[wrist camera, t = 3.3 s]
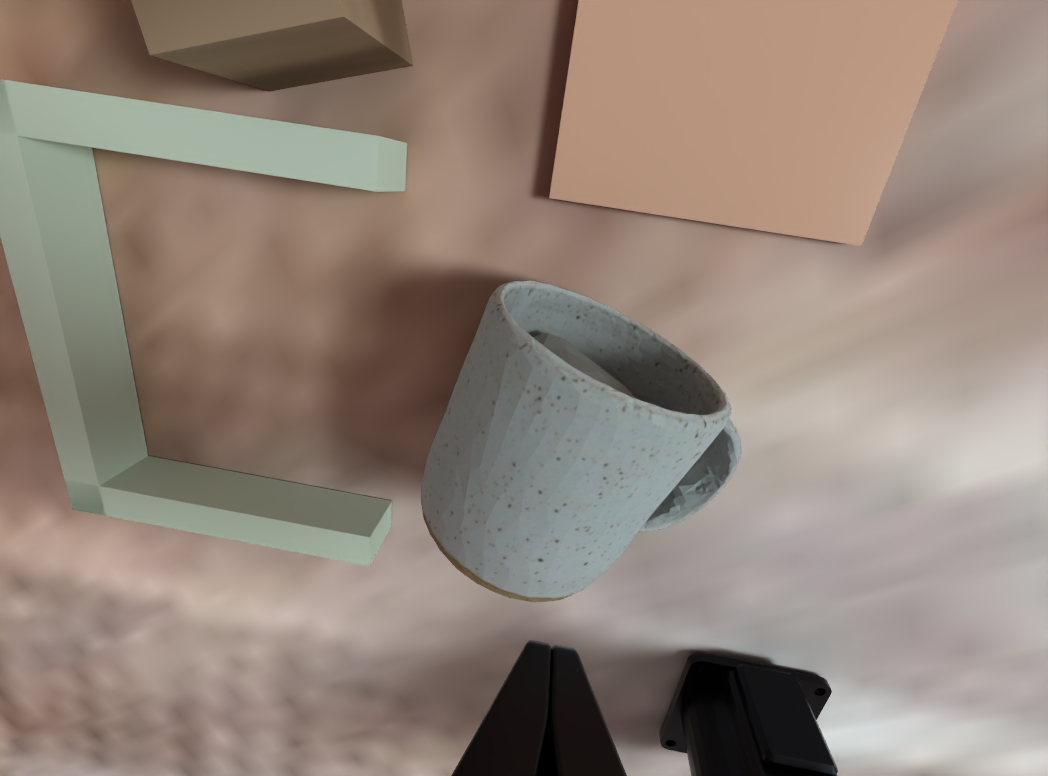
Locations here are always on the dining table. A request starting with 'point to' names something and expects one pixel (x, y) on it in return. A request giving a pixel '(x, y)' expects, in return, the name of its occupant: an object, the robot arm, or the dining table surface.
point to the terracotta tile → (744, 108)
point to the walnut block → (277, 38)
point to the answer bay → (97, 323)
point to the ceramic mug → (569, 443)
